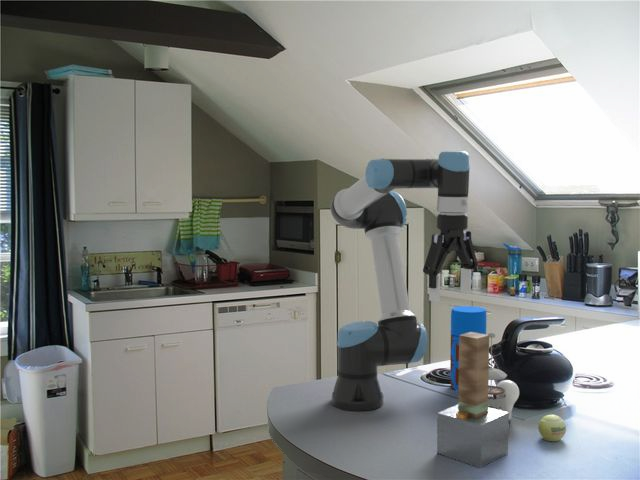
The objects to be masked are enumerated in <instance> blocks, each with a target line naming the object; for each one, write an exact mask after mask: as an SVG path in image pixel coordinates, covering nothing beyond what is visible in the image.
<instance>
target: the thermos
mask: <svg viewBox="0 0 640 480" xmlns="http://www.w3.org/2000/svg"><path fill="white" fill-rule="evenodd" d="M450 311H451V312H450V364H449V365H450V366H449V368H450V369H449V370H450V371H449V374H450V375H449V377H450V389H452V390H453V391H456V392H459V335H462V334H465V333H469V332H475V333H480V334H486V335H487V316H488V315H487V309H486V308H484V307H481V306H471V305H462V306H460V305H458V306H454V307H451V310H450Z"/></svg>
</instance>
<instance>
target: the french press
mask: <svg viewBox="0 0 640 480" xmlns="http://www.w3.org/2000/svg"><path fill="white" fill-rule="evenodd" d="M487 335H489V339H491V340H490V367H489V380H490V384H488V407H489V408H493V409H497V410H501V411H505V412H506V395H505V394H504V398H502V399H497V397H496V395H498V394H502V393H504V391H505V390H504V389H503V388H501V387H497V385H492V382H493V381H503V380H506V379H507V376H508V374H506V372H504V371H502V370H501V369H498V368H496V367H495V368H494V367H493V366H492V365H493V364H492V362H493V361H492V360H493V359H492V358H493V357H492V356H493V338H496V334H495V333H494V332H489V333H488V334H487ZM489 380H488V381H489ZM489 395H491V396H489ZM494 396H495V397H494ZM509 428H510V425H509V426H508V429H509Z"/></svg>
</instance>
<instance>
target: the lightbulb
mask: <svg viewBox="0 0 640 480" xmlns="http://www.w3.org/2000/svg"><path fill="white" fill-rule="evenodd" d="M496 386H497V387H501V388H503V389H504V390H505V391H504V393H502V394H498V395H495V398H497V399H502V398H504V394H505V395H506V412H509V421H510V420H511V419H512V412H513V411H512V410H513V408H514V405H515V404H516V402H517V401H518V399H519V396H520V388H519V387H518V385H517V383H516V382H514V381H513V380H510V379H503V380H500V381H499V382H498V383H497V384H496Z"/></svg>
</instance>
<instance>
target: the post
mask: <svg viewBox="0 0 640 480" xmlns="http://www.w3.org/2000/svg"><path fill="white" fill-rule="evenodd" d="M489 365H490V337H489V335H488V334H487V333H486V334H480V333H475V332H469V333H465V334H462V335H459V391H458V395H457V396H458V402H457V403H458V404H457V405H458V412H460V411H462V412H466V413H468V416H470V417H474V418H479V417H481V416H483V415H486V414H488V406H489V405H488V397H489V395H488V385H489V368H490V366H489Z"/></svg>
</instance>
